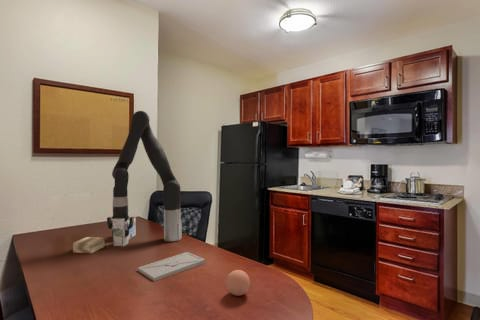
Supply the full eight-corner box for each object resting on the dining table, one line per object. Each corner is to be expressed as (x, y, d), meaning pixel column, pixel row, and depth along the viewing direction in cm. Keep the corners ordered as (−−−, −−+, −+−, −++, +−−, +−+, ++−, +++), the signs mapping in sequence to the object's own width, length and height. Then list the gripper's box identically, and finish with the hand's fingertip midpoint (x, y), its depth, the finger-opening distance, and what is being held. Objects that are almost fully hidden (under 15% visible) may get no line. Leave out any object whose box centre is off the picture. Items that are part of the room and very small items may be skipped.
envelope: (138, 272, 111) (154, 283, 101) (137, 267, 111) (154, 277, 101) (187, 255, 128) (205, 263, 118) (187, 251, 128) (205, 258, 118)
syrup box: (128, 243, 147) (128, 216, 147) (123, 246, 141) (122, 219, 141) (118, 243, 148) (118, 216, 148) (112, 246, 142) (112, 218, 142)
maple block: (104, 247, 142) (104, 237, 142) (92, 253, 132) (91, 243, 132) (86, 246, 143) (86, 237, 143) (73, 253, 133) (72, 242, 133)
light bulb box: (128, 240, 153) (128, 221, 153) (116, 240, 153) (116, 221, 153) (136, 234, 164) (136, 217, 164) (125, 234, 164) (124, 217, 164)
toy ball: (249, 288, 95) (249, 266, 95) (250, 300, 87) (250, 275, 87) (226, 289, 95) (226, 266, 95) (226, 300, 87) (225, 276, 87)
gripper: (136, 203, 148) (136, 234, 148) (110, 203, 148) (110, 234, 148) (130, 206, 140) (131, 238, 140) (103, 206, 141) (103, 238, 141)
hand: (120, 236), depth 144 cm, fingers closed on syrup box, 6 cm apart
